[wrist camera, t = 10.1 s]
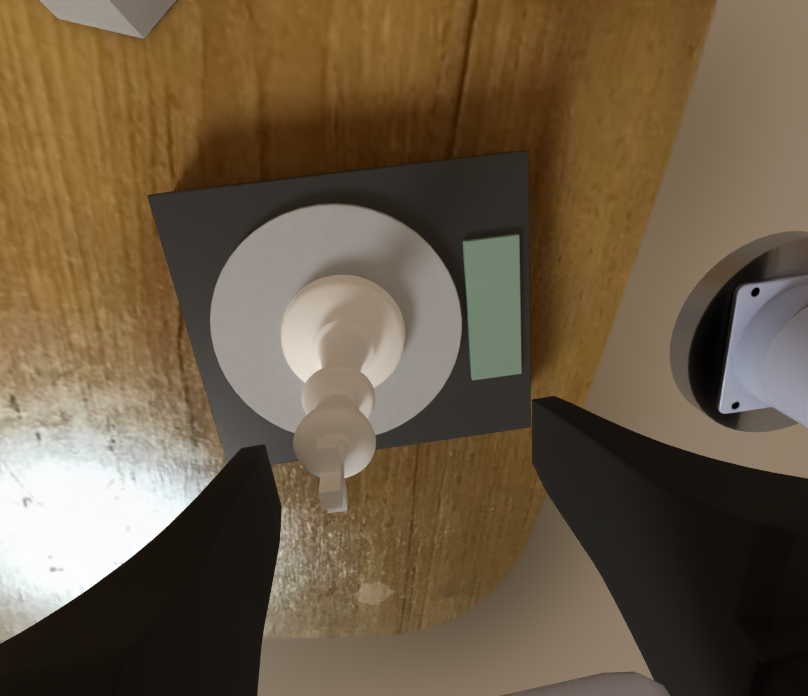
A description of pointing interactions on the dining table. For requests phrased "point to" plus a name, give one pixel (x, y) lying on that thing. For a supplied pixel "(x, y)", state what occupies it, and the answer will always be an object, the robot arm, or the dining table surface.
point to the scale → (371, 259)
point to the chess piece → (340, 374)
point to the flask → (112, 14)
